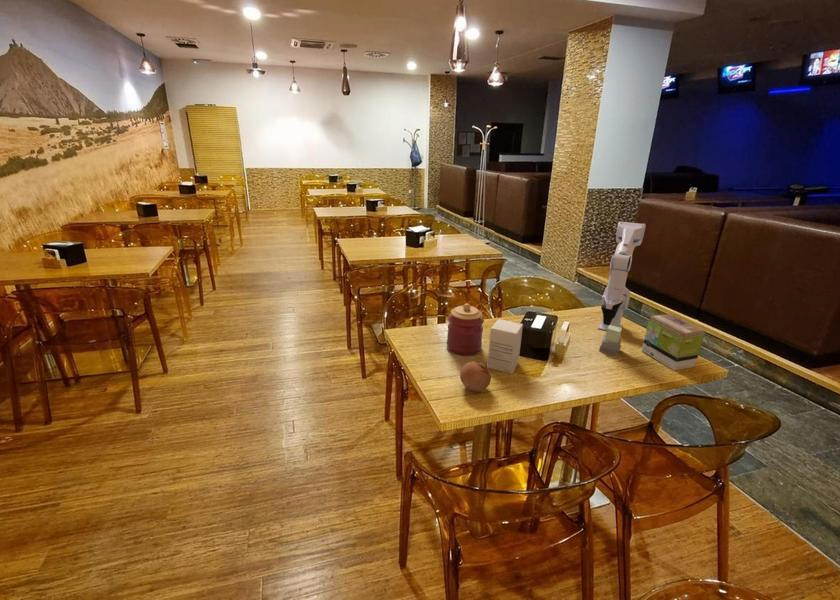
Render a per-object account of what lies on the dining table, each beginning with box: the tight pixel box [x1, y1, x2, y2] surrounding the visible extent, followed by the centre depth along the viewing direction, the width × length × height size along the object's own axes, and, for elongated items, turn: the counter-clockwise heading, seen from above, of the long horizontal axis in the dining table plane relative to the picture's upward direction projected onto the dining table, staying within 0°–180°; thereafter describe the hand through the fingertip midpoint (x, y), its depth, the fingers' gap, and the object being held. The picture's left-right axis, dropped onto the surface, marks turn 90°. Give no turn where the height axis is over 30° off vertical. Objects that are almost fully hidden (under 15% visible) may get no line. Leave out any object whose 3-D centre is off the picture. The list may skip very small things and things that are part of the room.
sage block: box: [605, 325, 623, 343], centre depth 156 cm, size 4×4×4 cm
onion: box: [459, 360, 492, 394], centre depth 130 cm, size 10×9×10 cm
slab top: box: [600, 334, 622, 352], centre depth 157 cm, size 6×6×2 cm
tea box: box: [641, 313, 707, 371], centre depth 150 cm, size 15×10×15 cm, turn 18°
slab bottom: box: [598, 343, 622, 356], centre depth 158 cm, size 6×6×2 cm
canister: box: [446, 303, 485, 356], centre depth 154 cm, size 13×13×18 cm
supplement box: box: [486, 318, 524, 374], centre depth 143 cm, size 9×9×15 cm
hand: (608, 321), depth 158 cm, fingers open, 7 cm apart
